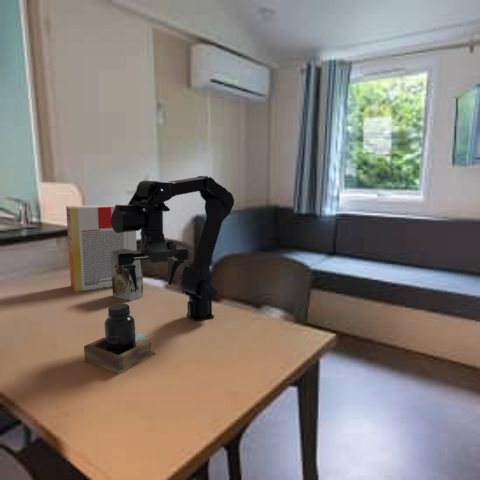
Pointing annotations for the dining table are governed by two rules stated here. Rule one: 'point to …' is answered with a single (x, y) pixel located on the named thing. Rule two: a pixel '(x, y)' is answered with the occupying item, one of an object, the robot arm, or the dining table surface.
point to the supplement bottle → (119, 329)
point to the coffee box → (126, 279)
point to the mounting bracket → (140, 337)
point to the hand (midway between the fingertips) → (152, 286)
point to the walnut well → (116, 356)
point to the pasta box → (93, 245)
